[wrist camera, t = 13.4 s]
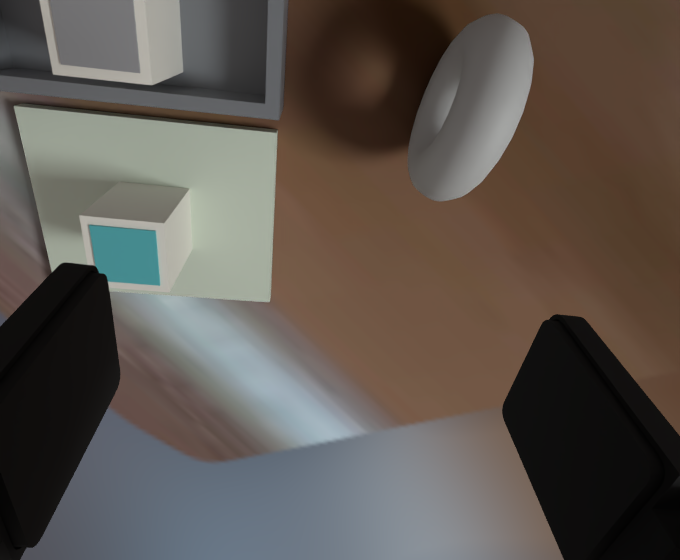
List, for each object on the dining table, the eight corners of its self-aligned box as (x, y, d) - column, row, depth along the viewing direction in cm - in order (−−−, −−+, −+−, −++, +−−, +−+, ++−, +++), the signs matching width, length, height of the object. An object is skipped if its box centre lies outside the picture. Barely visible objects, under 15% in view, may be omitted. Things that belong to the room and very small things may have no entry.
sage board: (22, 103, 29) (13, 105, 28) (277, 129, 30) (276, 133, 30) (61, 280, 35) (55, 287, 34) (270, 295, 37) (269, 302, 36)
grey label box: (91, -30, 25) (30, -43, 20) (178, -19, 25) (141, -28, 20) (103, 63, 27) (51, 74, 22) (183, 72, 28) (151, 85, 22)
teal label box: (119, 181, 31) (78, 216, 25) (189, 188, 31) (163, 224, 26) (126, 243, 33) (90, 287, 28) (192, 249, 33) (168, 293, 28)
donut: (450, 4, 27) (513, -1, 19) (501, 26, 28) (584, 30, 19) (388, 163, 32) (415, 218, 23) (433, 178, 33) (475, 237, 24)
